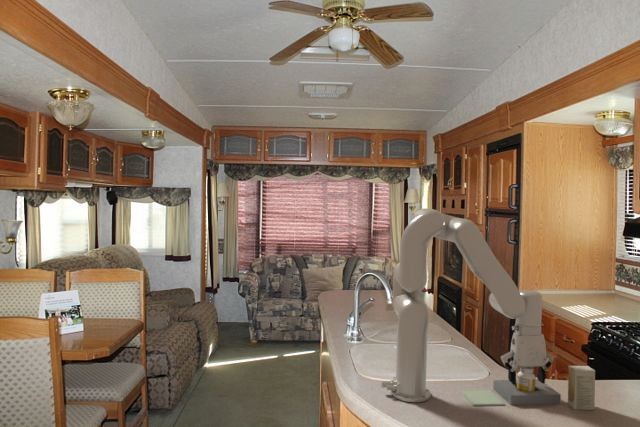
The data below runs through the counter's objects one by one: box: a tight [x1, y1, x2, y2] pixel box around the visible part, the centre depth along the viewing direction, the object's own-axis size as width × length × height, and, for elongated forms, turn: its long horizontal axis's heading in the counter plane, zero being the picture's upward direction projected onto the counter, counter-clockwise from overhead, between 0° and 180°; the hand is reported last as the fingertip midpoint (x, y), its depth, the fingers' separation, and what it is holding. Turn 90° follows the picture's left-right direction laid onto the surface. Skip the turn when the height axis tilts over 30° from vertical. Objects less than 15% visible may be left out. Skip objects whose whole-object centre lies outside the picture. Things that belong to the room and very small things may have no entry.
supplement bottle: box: [516, 367, 536, 391], centre depth 153 cm, size 5×5×10 cm
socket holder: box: [492, 379, 562, 406], centre depth 153 cm, size 16×12×3 cm
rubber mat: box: [460, 389, 506, 407], centre depth 151 cm, size 10×10×1 cm
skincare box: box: [567, 365, 596, 411], centre depth 146 cm, size 6×4×12 cm
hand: (526, 382), depth 153 cm, fingers open, 9 cm apart
